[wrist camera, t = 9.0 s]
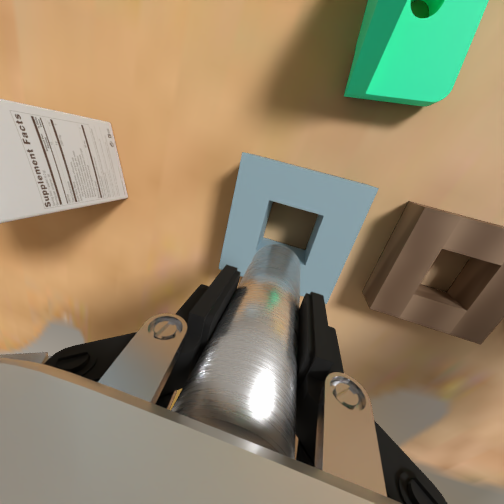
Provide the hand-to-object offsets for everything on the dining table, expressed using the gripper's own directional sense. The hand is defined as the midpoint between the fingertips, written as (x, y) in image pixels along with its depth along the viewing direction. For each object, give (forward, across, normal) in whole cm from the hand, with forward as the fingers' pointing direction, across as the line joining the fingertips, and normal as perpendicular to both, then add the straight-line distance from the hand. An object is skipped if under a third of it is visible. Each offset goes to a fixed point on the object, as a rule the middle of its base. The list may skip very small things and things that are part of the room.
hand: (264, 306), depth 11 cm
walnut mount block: (+17, -16, 0) cm, 23 cm away
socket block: (+17, 0, 0) cm, 17 cm away
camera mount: (+17, -5, -19) cm, 26 cm away
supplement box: (+17, +26, 0) cm, 31 cm away
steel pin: (+5, 0, 0) cm, 5 cm away
